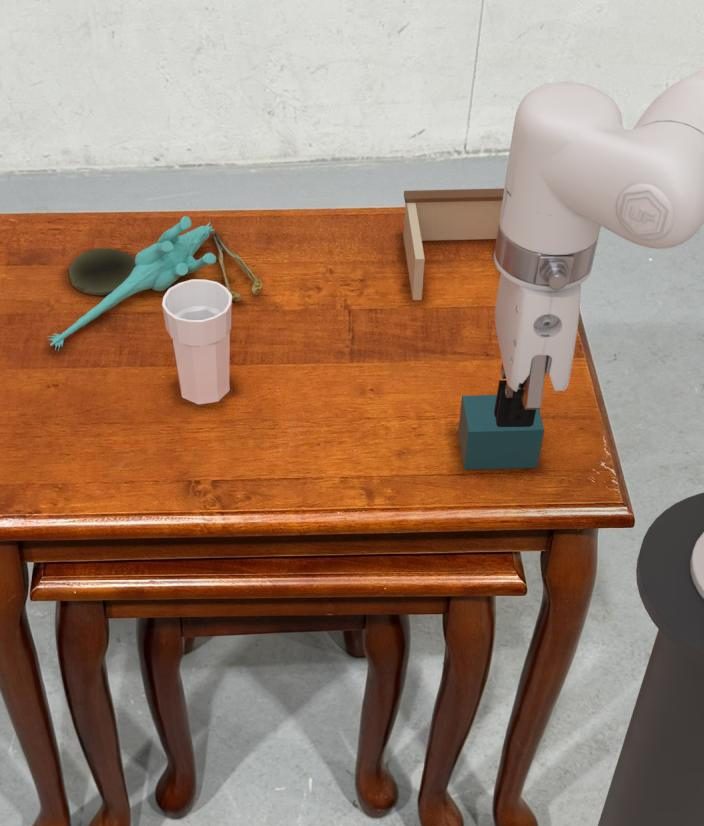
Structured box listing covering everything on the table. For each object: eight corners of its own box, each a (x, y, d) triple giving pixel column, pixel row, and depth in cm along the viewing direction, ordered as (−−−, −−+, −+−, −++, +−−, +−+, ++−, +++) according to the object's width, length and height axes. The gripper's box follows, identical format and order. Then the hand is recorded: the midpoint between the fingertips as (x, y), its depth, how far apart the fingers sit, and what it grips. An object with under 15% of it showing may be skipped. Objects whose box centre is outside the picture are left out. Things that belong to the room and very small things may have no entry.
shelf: (524, 297, 140) (531, 251, 135) (410, 300, 140) (413, 254, 135) (508, 233, 148) (514, 187, 144) (401, 236, 148) (403, 190, 144)
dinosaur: (222, 188, 140) (190, 207, 146) (54, 309, 128) (26, 325, 134) (253, 234, 142) (219, 251, 148) (89, 358, 130) (60, 371, 136)
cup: (229, 413, 127) (223, 325, 119) (164, 405, 128) (154, 317, 120) (243, 370, 132) (238, 283, 124) (180, 362, 132) (172, 276, 125)
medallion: (97, 239, 146) (98, 244, 147) (53, 277, 142) (54, 282, 142) (154, 261, 143) (154, 267, 144) (110, 301, 139) (111, 306, 140)
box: (537, 468, 121) (544, 429, 118) (463, 470, 121) (468, 431, 118) (529, 431, 125) (535, 393, 121) (457, 433, 125) (462, 395, 121)
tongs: (222, 232, 148) (219, 219, 147) (267, 296, 140) (264, 282, 139) (189, 246, 148) (186, 233, 146) (232, 311, 139) (229, 297, 138)
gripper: (613, 307, 93) (571, 482, 106) (576, 190, 103) (542, 363, 116) (510, 308, 93) (480, 483, 106) (483, 191, 103) (459, 364, 116)
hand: (513, 420), depth 111 cm, fingers closed
